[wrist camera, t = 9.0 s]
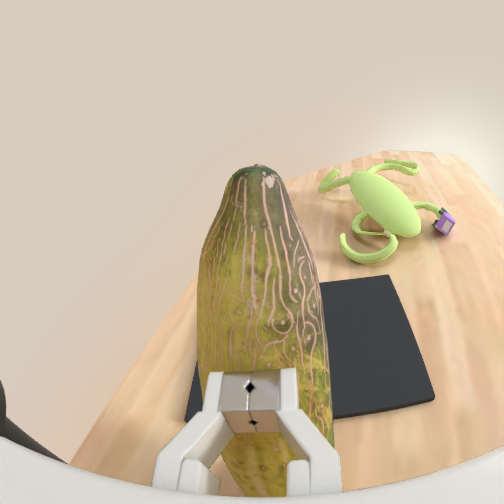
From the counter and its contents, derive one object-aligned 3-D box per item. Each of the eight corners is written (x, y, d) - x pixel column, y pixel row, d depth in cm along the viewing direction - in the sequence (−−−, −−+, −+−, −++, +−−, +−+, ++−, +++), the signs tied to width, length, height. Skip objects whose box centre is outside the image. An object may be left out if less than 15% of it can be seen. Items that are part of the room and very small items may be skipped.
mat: (186, 423, 22) (184, 420, 22) (213, 296, 36) (212, 292, 35) (433, 400, 20) (435, 396, 19) (388, 278, 33) (388, 274, 33)
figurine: (405, 178, 55) (406, 151, 52) (476, 253, 33) (484, 215, 30) (315, 186, 58) (313, 158, 55) (345, 272, 35) (345, 230, 32)
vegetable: (252, 550, 11) (157, 165, 9) (228, 486, 17) (160, 188, 15) (347, 516, 13) (336, 149, 10) (307, 462, 19) (275, 173, 16)
